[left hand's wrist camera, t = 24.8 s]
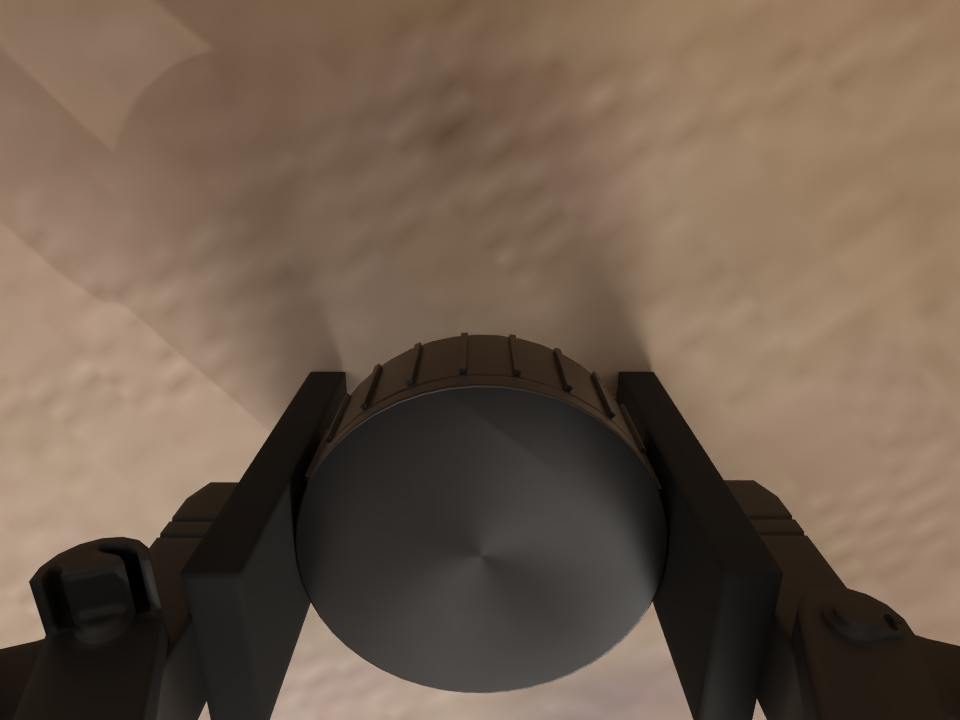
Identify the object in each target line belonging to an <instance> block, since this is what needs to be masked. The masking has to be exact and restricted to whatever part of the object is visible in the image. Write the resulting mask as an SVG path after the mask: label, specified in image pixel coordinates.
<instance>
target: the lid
mask: <svg viewBox="0 0 960 720" xmlns="http://www.w3.org/2000/svg"><path fill="white" fill-rule="evenodd" d="M645 452H646V449H645V447H644V445H643V443H642V441H641V439H640V437H639V434H638V432H637V430H636V428H635V426H634V424H633V422H632V420H631V418H630V416H629V414H628V412H627V410H626V408H625V406H624V404H621V405H618V403H617V402H616V401H615V399H614V398H613V396H612V395H611V393H610V392H609V391H608V390H607V389H606V388H605V387H604V386H603V385H602V382H601V380H600V378H599V376H598V374H597V373H595V372H593V373H592V374H591V373H590V372H588V371H587V370H586V369H585V368H583V367H582V366H581V365H580V364H578V363H576V362H575V361H573V360H571V359H569V358H568V357H566V356H564V355H563V354H562V353H561V350H560V349H558V348H555V349H554V350H552V349H549V348H547V347H545V346H542V345H540V344H536V343H533V342H529V341H526V340H522V339H517V338H516V335H511V334H510V335H509V337H504V336H497V335H469V336H468V333H461V336H458V337H451V338H446V339H442V340H437V341H433V342H430V343H427V344H424V345H421V343H417V344H415V346H414V348H413V349H410V350H408V351H406V352H404V353H402V354H401V355H399V356H397V357H395V358H393V359H391V360H390V361H388V362H387V363H385V364H384V365H382V366H381V365H380V364H378V365H376V366H375V367H374V370H373V372H372V374H371V375H370V376H368V377H367V378H366V379H365V380H364V381H363V382H362V383H361V384H360V385H359V386H358V387H357V388H356V390H355V391H354V392H353V393H352V394H351V396H350V395H349V394H346V395H345V397H344V398H343V401H342V403H341V405H340V407H339V409H338V412H337V414H336V416H335V418H334V420H333V423H332V425H331V427H330V429H329V430H328V429H327V430H326V432H325V434H324V436H323V438H322V440H321V442H320V444H319V447H318V449H317V451H316V453H315V455H314V457H313V459H312V462H311V464H310V466H309V468H308V470H307V472H306V474H305V477H304V481H306V482H307V485H306V487H305V489H304V492H303V494H302V497H301V499H300V504H299V508H298V512H297V516H296V524H295V537H294V541H295V553H296V561H297V565H298V569H299V573H300V577H301V581H302V583H303V586H304V588H305V591H306V593H307V595H308V598H309V600H310V601H311V603H312V605H313V606H314V608H315V610H316V611H317V613H318V615H319V616H320V618H321V619H322V620H323V621H324V623H325V624H326V625H327V626H328V628H329V629H330V630H331V631H332V632H333V633H334V634H335V635H336V636H337V637H338V638H339V639H340V640H341V641H342V642H343V643H344V644H345V645H346V646H347V647H348V648H350V649H351V650H352V651H354V652H355V653H356V654H358V655H359V656H360V657H362V658H363V659H364V660H366V661H368V662H370V663H371V664H373V665H375V666H376V667H378V668H380V669H381V670H384V671H386V672H388V673H390V674H392V675H395V676H397V677H399V678H401V679H404V680H407V681H410V682H413V683H416V684H419V685H423V686H427V687H432V688H436V689H441V690H447V691H455V692H464V693H496V692H509V691H515V690H520V689H526V688H531V687H535V686H539V685H542V684H546V683H549V682H552V681H555V680H558V679H560V678H563V677H565V676H568V675H570V674H573V673H574V672H576V671H578V670H580V669H582V668H584V667H586V666H588V665H590V664H591V663H593V662H594V661H596V660H597V659H599V658H600V657H602V656H603V655H605V654H606V653H608V652H609V651H610V650H611V649H613V648H614V647H615V646H616V645H617V644H618V643H620V642H621V641H622V640H623V639H624V638H625V637H626V636H627V635H628V634H629V633H630V632H631V630H632V629H633V628H634V627H635V626H636V625H637V624H638V623H639V621H640V620H641V618H642V617H643V615H644V614H645V612H646V611H647V610H648V608H649V607H650V605H651V603H652V601H653V599H654V597H655V595H656V593H657V591H658V589H659V586H660V583H661V580H662V577H663V574H664V571H665V566H666V560H667V554H668V540H669V528H668V521H667V515H666V508H665V505H664V502H663V499H662V496H661V493H663V489H662V487H661V484H660V482H659V480H658V478H657V476H656V474H655V472H654V470H653V468H652V466H651V464H650V462H649V459H648V457H647V455H646V453H645Z"/></svg>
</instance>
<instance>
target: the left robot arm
mask: <svg viewBox="0 0 960 720" xmlns="http://www.w3.org/2000/svg"><path fill="white" fill-rule="evenodd" d="M346 394H347V390H346V378H345V372H310V374H309V375H308V377H307V378H306V380H305V381H304V383H303V385H302V386H301V388H300V389H299V391H298V392H297V394H296V395H295V397H294V398H293V400H292V401H291V403H290V405H289V406H288V408H287V409H286V411H285V412H284V414H283V415H282V417H281V418H280V420H279V421H278V423H277V425H276V426H275V428H274V429H273V431H272V432H271V434H270V435H269V437H268V438H267V440H266V441H265V443H264V444H263V446H262V448H261V449H260V451H259V452H258V454H257V455H256V457H255V458H254V460H253V461H252V463H251V464H250V466H249V468H248V469H247V471H246V472H245V474H244V475H243V477H242V478H241V480H240V481H239V483H234V482H210V483H209V484H208V485H206V486H205V487H203V488H202V489H200V490H199V491H197V492H196V493H194V494H193V495H191V496H190V497H189V498H187V499H186V500H185V502H184V503H183V504H182V506H181V507H180V508H179V510H178V511H177V512H176V514H175V515H174V516H173V518H172V522H169V523H168V524H167V525H166V527H165V528H164V529H163V531H162V532H161V533H160V538H157V539H156V540H155V541H154V543H153V544H152V545H151V547H150V548H148V547H147V546H145V545H144V544H143V543H142V542H140V541H139V540H135V539H130V538H125V537H115V538H102V539H98V540H94V541H90V542H87V543H83V544H79V545H77V546H75V547H73V548H71V549H69V550H66V551H64V552H62V553H60V554H58V555H57V556H55V557H54V558H52V559H51V560H50V561H48V562H47V563H46V564H44V565H43V566H41V567H40V568H39V569H38V571H37V572H36V573H35V575H34V576H33V577H32V579H31V580H30V581H29V583H30V586H31V589H32V592H33V596H34V599H35V602H36V605H37V608H38V611H39V614H40V617H41V621H42V624H43V627H44V630H45V633H46V636H45V639H42V640H39V641H35V642H30V643H26V644H21V645H17V646H13V647H8V648H4V649H0V720H198V718H199V716H200V714H201V712H202V710H203V707H204V705H205V703H206V701H207V704H208V708H209V713H210V718H211V720H270V717H271V714H272V712H273V709H274V706H275V703H276V700H277V697H278V694H279V692H280V689H281V686H282V683H283V680H284V677H285V674H286V672H287V669H288V666H289V663H290V660H291V657H292V654H293V652H294V649H295V646H296V643H297V640H298V637H299V634H300V632H301V629H302V626H303V623H304V620H305V617H306V614H307V611H308V609H309V606H310V603H311V601H310V600H309V598H308V595H307V593H306V591H305V588H304V586H303V583H302V581H301V577H300V573H299V569H298V565H297V561H296V553H295V541H294V537H295V524H296V516H297V512H298V508H299V504H300V499H301V497H302V494H303V492H304V489H305V487H306V485H307V482H306V481H304V477H305V474H306V472H307V470H308V468H309V466H310V464H311V462H312V459H313V457H314V455H315V453H316V451H317V449H318V447H319V444H320V442H321V440H322V438H323V436H324V434H325V432H326V430H327V429H328V430H329V429H330V427H331V425H332V423H333V420H334V418H335V416H336V414H337V412H338V409H339V407H340V405H341V403H342V401H343V398H344V397H345V395H346ZM617 403H618V405H621V404H624V406H625V408H626V410H627V412H628V414H629V416H630V418H631V420H632V422H633V424H634V426H635V428H636V430H637V432H638V434H639V437H640V439H641V441H642V443H643V445H644V447H645V449H646V452H645V453H646V455H647V457H648V459H649V462H650V464H651V466H652V468H653V470H654V472H655V474H656V476H657V478H658V480H659V482H660V484H661V487H662V489H663V493H661V496H662V499H663V502H664V505H665V508H666V515H667V521H668V528H669V540H668V554H667V560H666V566H665V571H664V574H663V577H662V580H661V583H660V586H659V589H658V591H657V593H656V595H655V597H654V599H653V604H654V607H655V610H656V613H657V616H658V619H659V621H660V624H661V627H662V630H663V633H664V636H665V639H666V642H667V644H668V647H669V650H670V653H671V656H672V659H673V662H674V665H675V668H676V670H677V673H678V676H679V679H680V682H681V685H682V688H683V691H684V693H685V696H686V699H687V702H688V705H689V708H690V711H691V714H692V717H693V719H694V720H752V718H753V713H754V709H755V704H756V699H758V701H759V704H760V706H761V708H762V710H763V712H764V714H765V717H766V719H767V720H960V646H957V645H952V644H948V643H943V642H939V641H935V640H930V639H926V638H923V637H920V636H916V635H914V633H913V632H912V630H911V629H910V627H909V626H908V624H907V623H906V621H905V620H904V619H903V618H902V617H901V616H900V615H899V614H897V613H896V612H895V611H894V610H893V609H891V608H890V607H889V606H888V605H886V604H884V603H882V602H880V601H878V600H877V599H875V598H873V597H871V596H869V595H867V594H864V593H861V592H857V591H854V590H851V589H847V588H846V586H845V585H844V584H843V582H842V581H841V580H840V578H839V577H838V576H837V574H836V573H835V572H834V571H833V569H832V568H831V567H830V565H829V564H828V563H827V561H826V560H825V559H824V557H823V556H822V555H821V553H820V552H819V551H818V549H817V548H816V547H815V545H814V544H813V543H812V541H811V540H810V539H809V538H808V536H804V531H803V530H802V528H801V527H800V526H799V524H798V523H797V522H796V520H792V515H791V514H790V512H789V511H788V510H787V509H786V507H785V506H784V505H783V503H782V502H781V501H780V499H779V498H778V497H777V496H776V495H774V494H773V493H771V492H770V491H768V490H767V489H765V488H764V487H763V486H761V485H760V484H758V483H757V482H755V481H754V480H723V478H722V477H721V475H720V474H719V472H718V471H717V469H716V468H715V466H714V465H713V463H712V461H711V460H710V458H709V457H708V455H707V454H706V452H705V451H704V449H703V448H702V446H701V444H700V443H699V441H698V440H697V438H696V437H695V435H694V434H693V432H692V431H691V429H690V428H689V426H688V424H687V423H686V421H685V420H684V418H683V417H682V415H681V414H680V412H679V411H678V409H677V407H676V406H675V404H674V403H673V401H672V400H671V398H670V397H669V395H668V394H667V392H666V390H665V389H664V387H663V386H662V384H661V383H660V381H659V380H658V378H657V377H656V375H655V373H654V372H619V379H618V391H617Z"/></svg>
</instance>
